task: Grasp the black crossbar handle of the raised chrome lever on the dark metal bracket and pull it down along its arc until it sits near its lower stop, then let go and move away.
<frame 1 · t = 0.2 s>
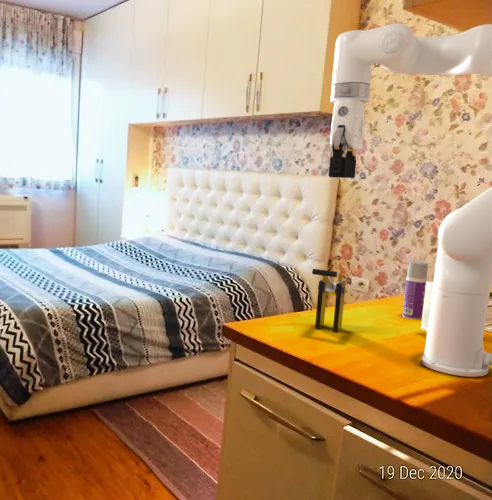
hand: (341, 177, 109), 36 cm above the kitchen counter, tool pointing down, fingers open, 9 cm apart
container: (411, 318, 137), on the kitchen counter
bracket: (327, 334, 120), on the kitchen counter
small box: (443, 338, 120), on the kitchen counter
lever: (328, 281, 114), point 13 cm above the kitchen counter, hinge at 30.0°
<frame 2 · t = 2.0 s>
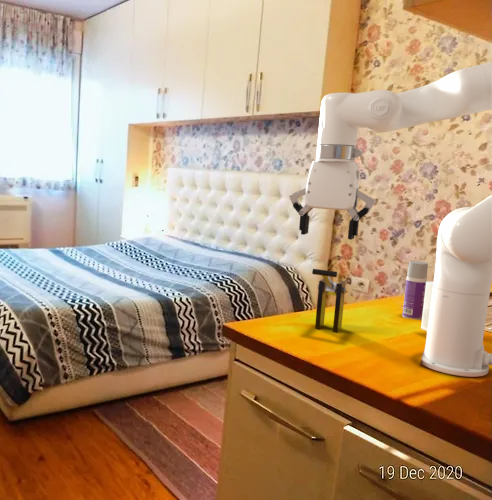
hand: (327, 236, 109), 24 cm above the kitchen counter, tool pointing down, fingers open, 9 cm apart
nothing on the kitchen counter moved.
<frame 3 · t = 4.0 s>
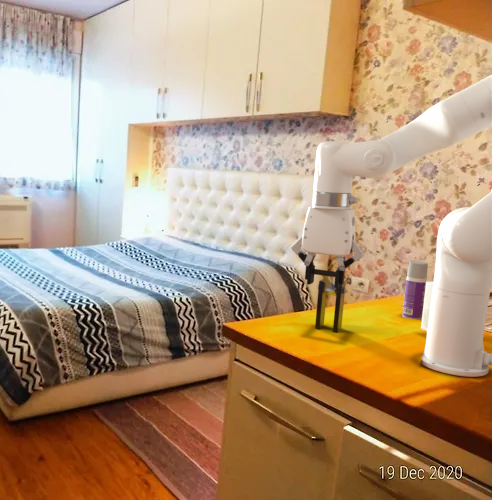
hand: (323, 284, 111), 13 cm above the kitchen counter, tool pointing down, fingers closed on lever, 5 cm apart
lever: (328, 281, 114), point 13 cm above the kitchen counter, hinge at 30.0°, touching gripper
everything else where it was.
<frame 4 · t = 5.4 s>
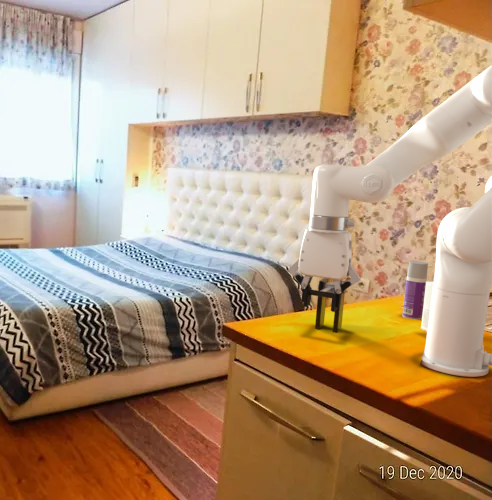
hand: (320, 307, 110), 9 cm above the kitchen counter, tool pointing down, fingers closed on lever, 5 cm apart
lever: (327, 290, 114), point 11 cm above the kitchen counter, hinge at 3.5°, touching gripper
everything else where it was.
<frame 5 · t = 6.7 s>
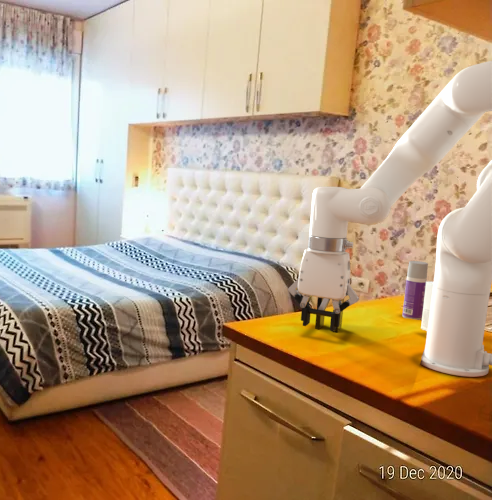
hand: (319, 326, 112), 4 cm above the kitchen counter, tool pointing down, fingers closed on lever, 5 cm apart
lever: (326, 299, 115), point 9 cm above the kitchen counter, hinge at -21.5°, touching gripper
everything else where it was.
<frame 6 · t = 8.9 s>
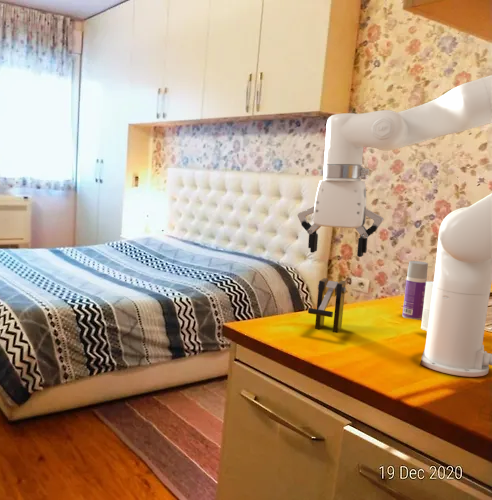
hand: (336, 253, 111), 20 cm above the kitchen counter, tool pointing down, fingers open, 9 cm apart
lever: (326, 299, 115), point 9 cm above the kitchen counter, hinge at -21.5°
everything else where it was.
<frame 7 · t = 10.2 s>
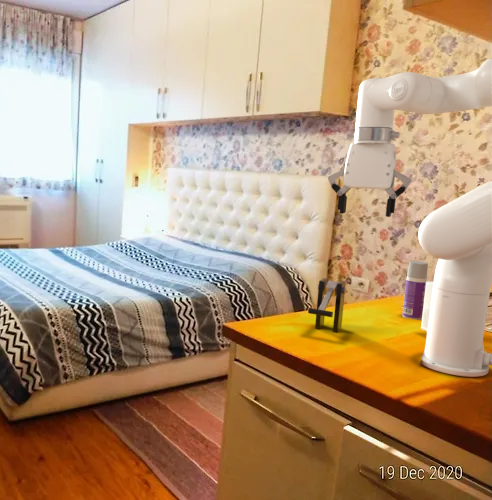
hand: (364, 214, 115), 28 cm above the kitchen counter, tool pointing down, fingers open, 9 cm apart
nothing on the kitchen counter moved.
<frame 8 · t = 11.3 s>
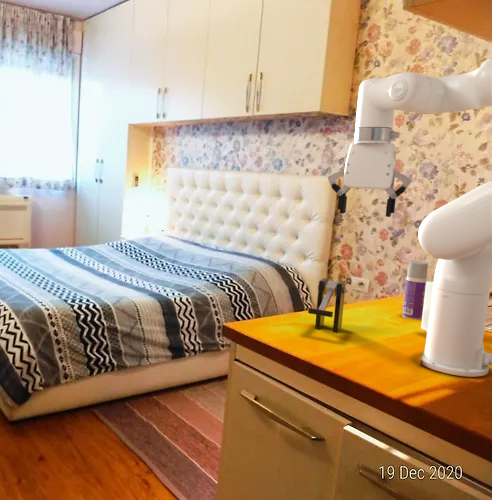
hand: (364, 214, 115), 28 cm above the kitchen counter, tool pointing down, fingers open, 9 cm apart
nothing on the kitchen counter moved.
at the end: lever at -22° (first picture: +30°); the gripper is holding nothing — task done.
